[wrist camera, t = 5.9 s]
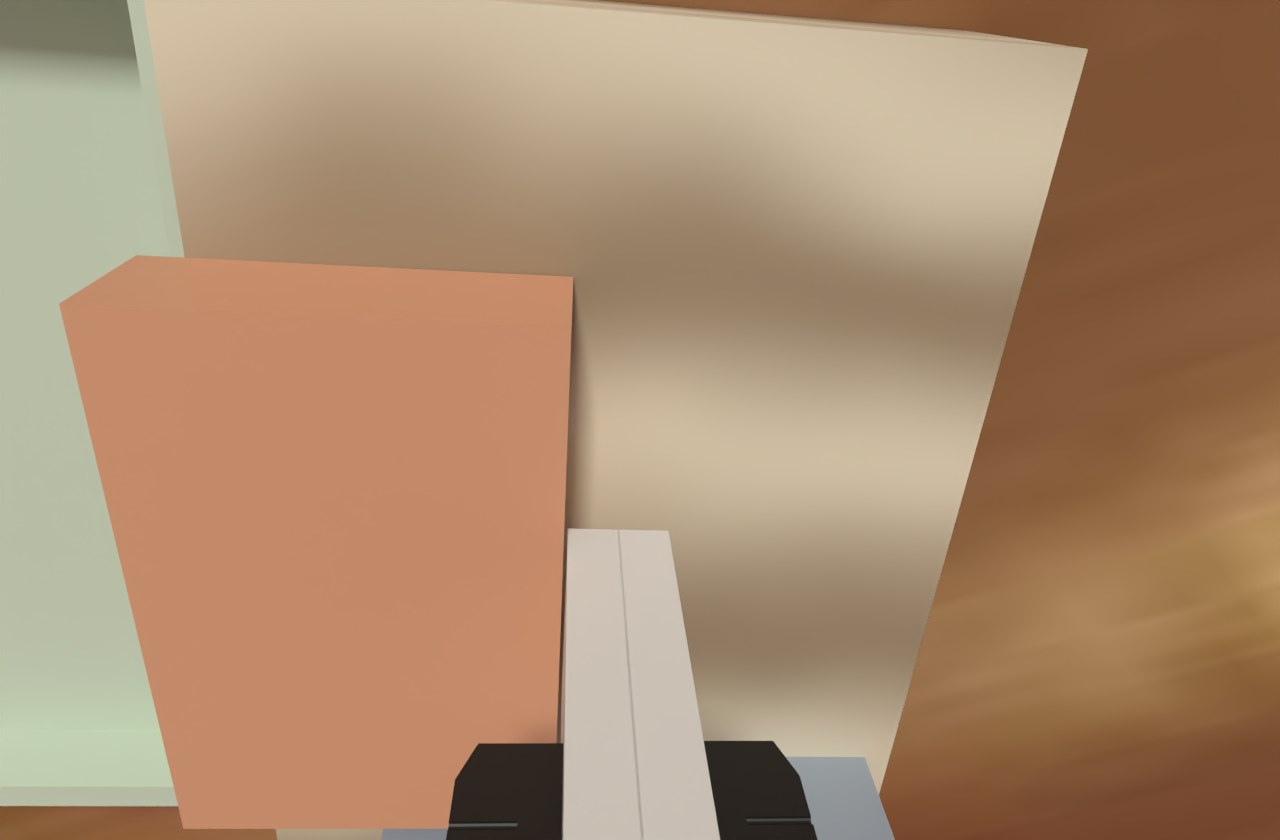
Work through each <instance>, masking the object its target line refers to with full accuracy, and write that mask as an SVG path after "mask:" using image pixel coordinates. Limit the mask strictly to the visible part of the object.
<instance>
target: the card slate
mask: <svg viewBox="0 0 1280 840" xmlns="http://www.w3.org/2000/svg"><path fill="white" fill-rule="evenodd" d="M786 758H787V760H788V761H789V762H790V764H791V765H792V766H793V768H794V769H795V770H796V771H797V773H798V774H799V775H800V779H801V782H802V786H803V789H804V793H805V797H806V800H807V804H808V807H809V811H810V814H811V824H813V825H814V829H815V832H816V836H817V840H895V839H894V836H893V833H892V831H891V828H890V825H889V822H888V820H887V817H886V814H885V811H884V809H883V806H882V803H881V800H880V798H879V795H878V792H877V789H876V787H875V784H874V781H873V778H872V776H871V773H870V770H869V767H868V765H867V762H866V759H865V757H786ZM447 830H448V829H383V833H382V837H381V840H446V836H447Z"/></svg>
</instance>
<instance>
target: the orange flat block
mask: <svg viewBox="0 0 1280 840" xmlns="http://www.w3.org/2000/svg"><path fill="white" fill-rule="evenodd" d="M572 303H573V277H569V276H548V275H528V274H508V273H488V272H467V271H447V270H427V269H407V268H386V267H366V266H346V265H325V264H305V263H285V262H265V261H244V260H224V259H204V258H184V257H163V256H143V255H136V256H134V257H132V258H131V259H129V260H128V261H126V262H124V263H123V264H121V265H120V266H118V267H117V268H115V269H113V270H112V271H110V272H109V273H107V274H105V275H104V276H102V277H101V278H99V279H97V280H96V281H94V282H93V283H91V284H89V285H88V286H86V287H85V288H83V289H82V290H80V291H78V292H77V293H75V294H74V295H72V296H70V297H69V298H67V299H66V300H64V301H62V302H61V303H59V306H60V310H61V315H62V319H63V323H64V327H65V332H66V336H67V340H68V344H69V348H70V353H71V357H72V361H73V365H74V369H75V374H76V378H77V382H78V386H79V390H80V395H81V399H82V403H83V407H84V411H85V416H86V420H87V424H88V428H89V433H90V437H91V441H92V445H93V449H94V454H95V458H96V462H97V466H98V470H99V475H100V479H101V483H102V487H103V491H104V496H105V500H106V504H107V508H108V513H109V517H110V521H111V525H112V529H113V534H114V538H115V542H116V546H117V550H118V555H119V559H120V563H121V567H122V571H123V576H124V580H125V584H126V588H127V592H128V597H129V601H130V605H131V609H132V614H133V618H134V622H135V626H136V630H137V635H138V639H139V643H140V647H141V651H142V656H143V660H144V664H145V668H146V672H147V677H148V681H149V685H150V689H151V693H152V698H153V702H154V706H155V710H156V715H157V719H158V723H159V727H160V731H161V736H162V740H163V744H164V748H165V752H166V757H167V761H168V765H169V769H170V773H171V778H172V782H173V786H174V790H175V794H176V799H177V803H178V807H179V811H180V816H181V820H182V824H183V828H184V829H448V827H449V816H450V810H451V803H452V796H453V790H454V783H455V779H456V777H457V776H458V774H459V773H460V771H461V769H462V768H463V766H464V765H465V763H466V762H467V760H468V759H469V757H470V756H471V754H472V752H473V751H474V749H475V748H476V746H477V745H478V743H557V717H558V689H559V662H560V634H561V607H562V579H563V551H564V524H565V496H566V469H567V441H568V414H569V386H570V358H571V331H572Z"/></svg>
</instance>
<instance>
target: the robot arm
mask: <svg viewBox="0 0 1280 840" xmlns="http://www.w3.org/2000/svg"><path fill="white" fill-rule="evenodd" d="M446 840H817V836H816V832H815V829H814V825H813V824H811V814H810V811H809V807H808V804H807V800H806V797H805V793H804V789H803V786H802V782H801V779H800V775H799V774H798V773H797V771H796V770H795V769H794V768H793V766H792V765H791V764H790V762H789V761H788V760H787V758H786V757H785V756H784V754H783V753H782V752H781V751H780V749H779V748H778V747H777V745H776V744H775V743H774V741H704V740H703V734H702V728H701V722H700V716H699V710H698V704H697V698H696V692H695V686H694V680H693V674H692V668H691V662H690V656H689V650H688V644H687V638H686V632H685V626H684V620H683V614H682V608H681V602H680V596H679V590H678V584H677V578H676V572H675V566H674V560H673V554H672V548H671V542H670V536H669V531H659V530H612V529H568V532H567V558H566V584H565V610H564V636H563V662H562V704H561V743H478V745H477V746H476V748H475V749H474V751H473V752H472V754H471V756H470V757H469V759H468V760H467V762H466V763H465V765H464V766H463V768H462V769H461V771H460V773H459V774H458V776H457V777H456V779H455V783H454V790H453V796H452V803H451V810H450V816H449V827H448V830H447V836H446Z"/></svg>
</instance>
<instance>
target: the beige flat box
mask: <svg viewBox="0 0 1280 840" xmlns="http://www.w3.org/2000/svg"><path fill="white" fill-rule="evenodd" d="M144 5H145V12H146V18H147V24H148V31H149V37H150V43H151V49H152V56H153V62H154V68H155V75H156V81H157V87H158V93H159V100H160V106H161V112H162V119H163V125H164V131H165V137H166V144H167V150H168V156H169V162H170V169H171V175H172V181H173V188H174V194H175V200H176V206H177V213H178V219H179V225H180V232H181V238H182V244H183V250H184V257H185V258H204V259H224V260H244V261H265V262H285V263H305V264H325V265H346V266H366V267H386V268H407V269H427V270H447V271H467V272H488V273H508V274H528V275H548V276H569V277H573V303H572V331H571V358H570V386H569V414H568V441H567V469H566V496H565V524H564V551H563V579H562V607H561V634H560V662H559V689H558V717H557V743H561V704H562V662H563V636H564V610H565V584H566V558H567V532H568V529H612V530H659V531H669V536H670V542H671V548H672V554H673V560H674V566H675V572H676V578H677V584H678V590H679V596H680V602H681V608H682V614H683V620H684V626H685V632H686V638H687V644H688V650H689V656H690V662H691V668H692V674H693V680H694V686H695V692H696V698H697V704H698V710H699V716H700V722H701V728H702V734H703V740H704V741H774V743H775V744H776V745H777V747H778V748H779V749H780V751H781V752H782V753H783V754H784V756H785V757H865V759H866V762H867V765H868V767H869V770H870V773H871V776H872V778H873V781H874V784H875V787H876V789H877V792H878V795H879V792H880V789H881V785H882V781H883V778H884V774H885V771H886V767H887V764H888V760H889V757H890V753H891V749H892V746H893V742H894V739H895V735H896V732H897V728H898V724H899V721H900V717H901V714H902V710H903V707H904V703H905V700H906V696H907V692H908V689H909V685H910V682H911V678H912V675H913V671H914V667H915V664H916V660H917V657H918V653H919V650H920V646H921V642H922V639H923V635H924V632H925V628H926V625H927V621H928V618H929V614H930V610H931V607H932V603H933V600H934V596H935V593H936V589H937V585H938V582H939V578H940V575H941V571H942V568H943V564H944V561H945V557H946V553H947V550H948V546H949V543H950V539H951V536H952V532H953V528H954V525H955V521H956V518H957V514H958V511H959V507H960V504H961V500H962V496H963V493H964V489H965V486H966V482H967V479H968V475H969V471H970V468H971V464H972V461H973V457H974V454H975V450H976V446H977V443H978V439H979V436H980V432H981V429H982V425H983V422H984V418H985V414H986V411H987V407H988V404H989V400H990V397H991V393H992V389H993V386H994V382H995V379H996V375H997V372H998V368H999V365H1000V361H1001V357H1002V354H1003V350H1004V347H1005V343H1006V340H1007V336H1008V332H1009V329H1010V325H1011V322H1012V318H1013V315H1014V311H1015V308H1016V304H1017V300H1018V297H1019V293H1020V290H1021V286H1022V283H1023V279H1024V275H1025V272H1026V268H1027V265H1028V261H1029V258H1030V254H1031V250H1032V247H1033V243H1034V240H1035V236H1036V233H1037V229H1038V226H1039V222H1040V218H1041V215H1042V211H1043V208H1044V204H1045V201H1046V197H1047V193H1048V190H1049V186H1050V183H1051V179H1052V176H1053V172H1054V169H1055V165H1056V161H1057V158H1058V154H1059V151H1060V147H1061V144H1062V140H1063V136H1064V133H1065V129H1066V126H1067V122H1068V119H1069V115H1070V111H1071V108H1072V104H1073V101H1074V97H1075V94H1076V90H1077V87H1078V83H1079V79H1080V76H1081V72H1082V69H1083V65H1084V62H1085V58H1086V54H1087V51H1088V49H1084V48H1077V47H1071V46H1064V45H1058V44H1051V43H1044V42H1038V41H1031V40H1025V39H1018V38H1012V37H1005V36H999V35H992V34H985V33H979V32H972V31H963V30H951V29H938V28H926V27H914V26H902V25H890V24H878V23H866V22H853V21H841V20H829V19H817V18H805V17H793V16H780V15H768V14H756V13H744V12H732V11H720V10H708V9H695V8H683V7H671V6H659V5H647V4H635V3H622V2H610V1H598V0H144ZM382 833H383V829H276V834H277V840H381V837H382Z"/></svg>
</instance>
